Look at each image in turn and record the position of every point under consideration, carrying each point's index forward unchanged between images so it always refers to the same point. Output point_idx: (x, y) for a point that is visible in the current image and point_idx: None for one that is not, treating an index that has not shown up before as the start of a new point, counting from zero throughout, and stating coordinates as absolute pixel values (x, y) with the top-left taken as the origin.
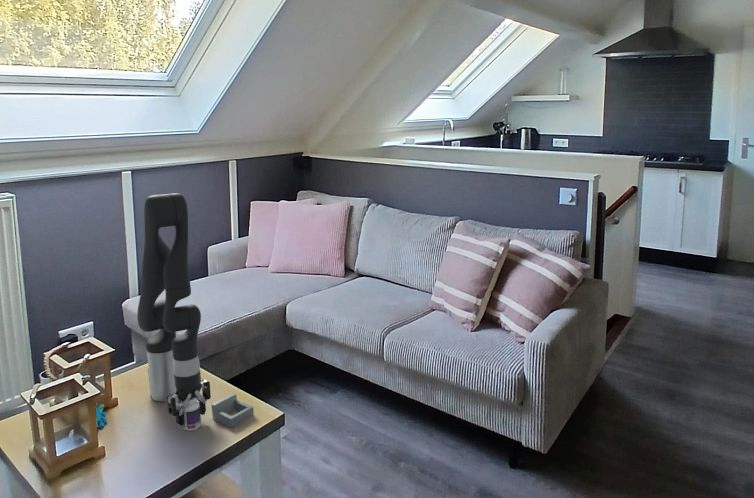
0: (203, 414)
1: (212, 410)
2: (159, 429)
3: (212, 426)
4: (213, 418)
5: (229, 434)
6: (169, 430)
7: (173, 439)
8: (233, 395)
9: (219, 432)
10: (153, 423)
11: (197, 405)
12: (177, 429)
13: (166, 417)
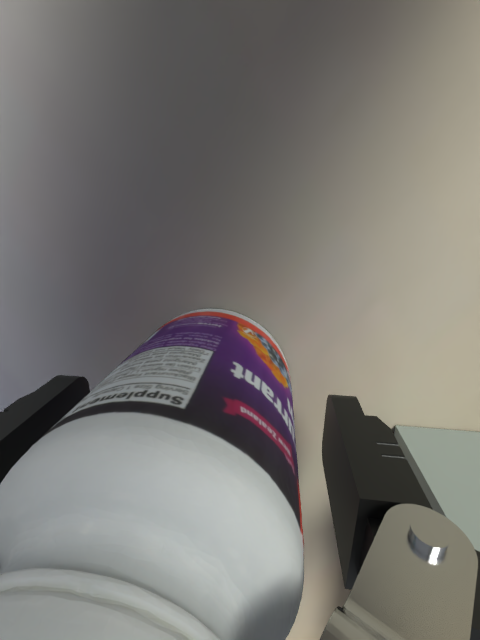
0: (325, 459)
1: (429, 498)
2: (7, 180)
3: (306, 491)
4: (396, 437)
5: (297, 617)
6: (62, 270)
7: (30, 393)
8: None
9: None
10: (4, 10)
11: None
12: (114, 313)
13: (158, 11)
